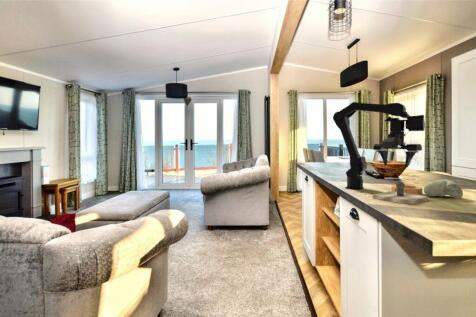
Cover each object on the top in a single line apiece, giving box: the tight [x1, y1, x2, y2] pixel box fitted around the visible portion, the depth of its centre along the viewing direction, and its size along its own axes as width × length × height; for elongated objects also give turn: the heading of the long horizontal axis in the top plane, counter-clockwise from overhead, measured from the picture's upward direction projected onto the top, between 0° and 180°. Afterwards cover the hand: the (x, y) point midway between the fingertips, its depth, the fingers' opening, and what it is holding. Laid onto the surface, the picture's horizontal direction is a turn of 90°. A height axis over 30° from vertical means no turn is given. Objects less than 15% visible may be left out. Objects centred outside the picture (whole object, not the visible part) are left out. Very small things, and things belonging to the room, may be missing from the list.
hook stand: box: [372, 181, 430, 206], centre depth 112 cm, size 15×13×7 cm
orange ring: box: [390, 184, 424, 196], centre depth 123 cm, size 11×11×3 cm
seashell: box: [423, 178, 464, 200], centre depth 114 cm, size 13×8×10 cm
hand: (395, 166), depth 126 cm, fingers open, 9 cm apart
